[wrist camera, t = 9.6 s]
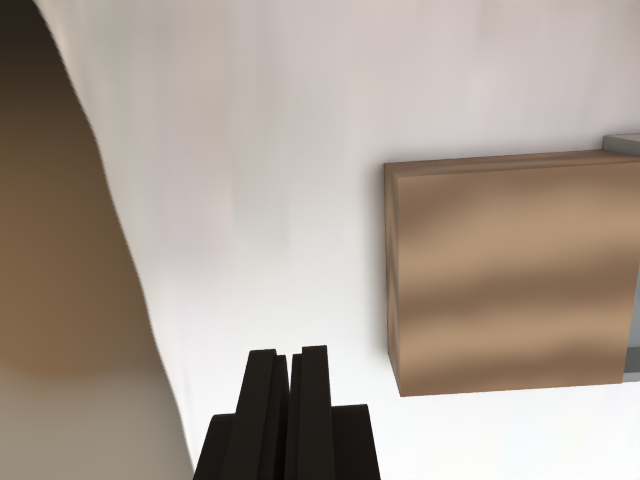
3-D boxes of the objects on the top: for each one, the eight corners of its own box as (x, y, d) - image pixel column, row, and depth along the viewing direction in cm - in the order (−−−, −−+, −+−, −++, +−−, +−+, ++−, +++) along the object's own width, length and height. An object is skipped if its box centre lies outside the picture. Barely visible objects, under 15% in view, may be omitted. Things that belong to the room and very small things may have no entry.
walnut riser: (384, 163, 36) (397, 177, 30) (599, 149, 36) (654, 161, 30) (388, 353, 41) (400, 396, 35) (578, 341, 41) (622, 383, 35)
